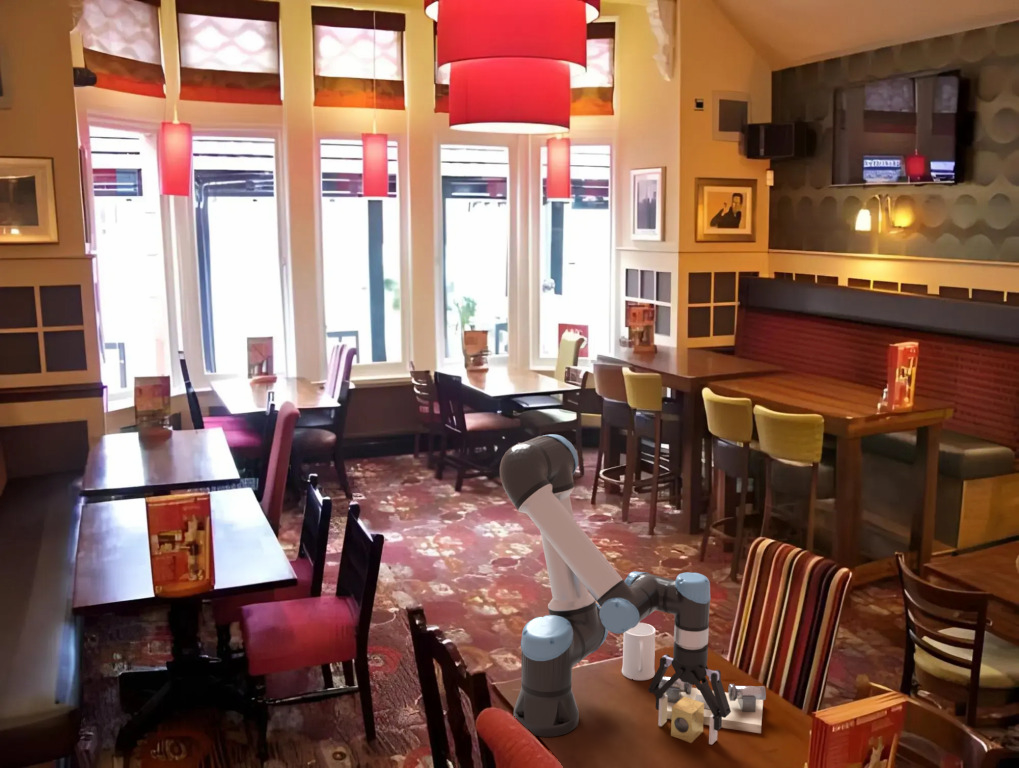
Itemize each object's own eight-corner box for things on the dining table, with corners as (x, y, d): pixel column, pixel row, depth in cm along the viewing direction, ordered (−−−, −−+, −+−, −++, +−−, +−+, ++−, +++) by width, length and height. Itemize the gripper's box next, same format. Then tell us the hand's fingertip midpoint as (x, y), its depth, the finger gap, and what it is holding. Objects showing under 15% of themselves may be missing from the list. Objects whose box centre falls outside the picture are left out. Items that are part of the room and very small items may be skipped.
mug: (655, 688, 230) (657, 642, 228) (621, 685, 231) (622, 640, 229) (654, 666, 241) (655, 622, 239) (621, 664, 242) (622, 621, 240)
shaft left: (655, 700, 220) (656, 679, 219) (658, 690, 224) (659, 669, 223) (689, 705, 217) (690, 684, 216) (691, 695, 222) (692, 674, 221)
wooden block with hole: (690, 743, 205) (692, 714, 204) (670, 736, 208) (671, 707, 207) (703, 731, 210) (704, 702, 209) (683, 724, 213) (684, 696, 212)
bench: (659, 717, 216) (659, 708, 215) (666, 691, 228) (666, 683, 228) (760, 733, 209) (761, 724, 209) (762, 705, 221) (763, 697, 221)
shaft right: (731, 711, 215) (732, 690, 214) (727, 700, 220) (728, 679, 219) (766, 712, 214) (767, 690, 213) (761, 701, 219) (762, 680, 218)
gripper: (749, 651, 201) (744, 742, 205) (650, 623, 216) (648, 709, 219) (735, 664, 195) (730, 758, 199) (634, 634, 210) (632, 722, 213)
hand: (687, 732), depth 209 cm, fingers open, 12 cm apart
